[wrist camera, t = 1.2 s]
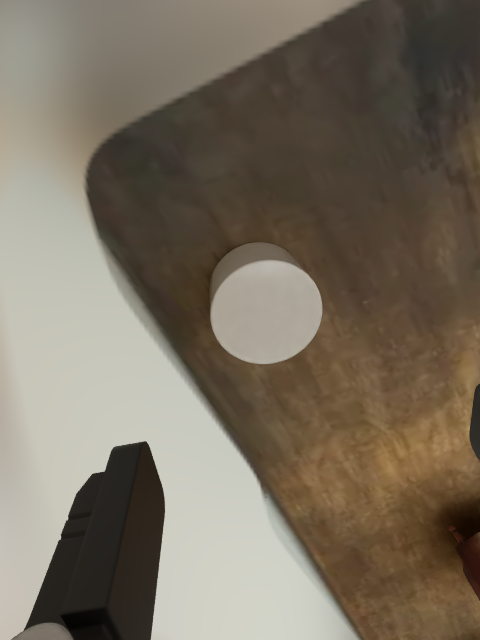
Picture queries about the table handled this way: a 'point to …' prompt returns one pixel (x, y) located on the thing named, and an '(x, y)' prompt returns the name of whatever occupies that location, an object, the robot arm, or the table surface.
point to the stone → (263, 304)
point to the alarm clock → (469, 558)
